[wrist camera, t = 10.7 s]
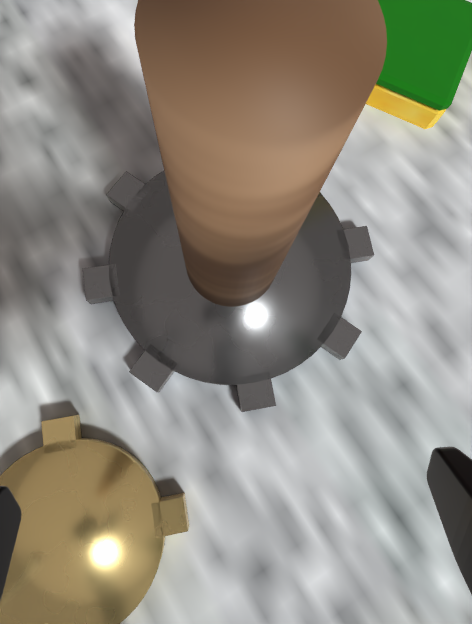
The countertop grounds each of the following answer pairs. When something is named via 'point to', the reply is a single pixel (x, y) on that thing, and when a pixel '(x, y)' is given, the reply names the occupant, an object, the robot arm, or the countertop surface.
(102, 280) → the steel gear disc
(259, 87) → the walnut axle
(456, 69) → the dish sponge
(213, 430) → the countertop surface
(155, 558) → the brass gear disc
